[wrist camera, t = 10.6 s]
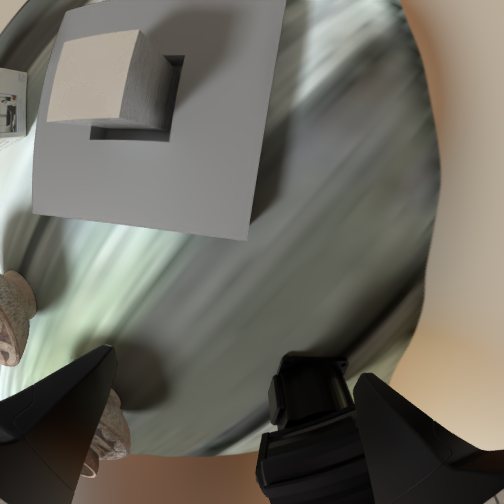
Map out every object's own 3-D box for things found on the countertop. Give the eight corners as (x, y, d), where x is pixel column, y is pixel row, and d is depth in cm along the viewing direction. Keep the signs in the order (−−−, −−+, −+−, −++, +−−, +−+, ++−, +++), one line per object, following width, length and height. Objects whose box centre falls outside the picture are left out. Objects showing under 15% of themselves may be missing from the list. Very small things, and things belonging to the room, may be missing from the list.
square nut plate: (280, 18, 14) (286, -2, 11) (246, 228, 19) (246, 241, 17) (83, 23, 13) (66, 11, 10) (54, 205, 18) (32, 213, 15)
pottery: (17, 229, 19) (-73, 279, 8) (162, 413, 27) (141, 501, 15) (-18, 276, 20) (-79, 324, 9) (103, 424, 28) (78, 492, 17)
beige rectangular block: (180, 75, 15) (139, 29, 8) (170, 131, 16) (118, 117, 9) (126, 76, 15) (64, 42, 7) (117, 129, 16) (46, 122, 9)
